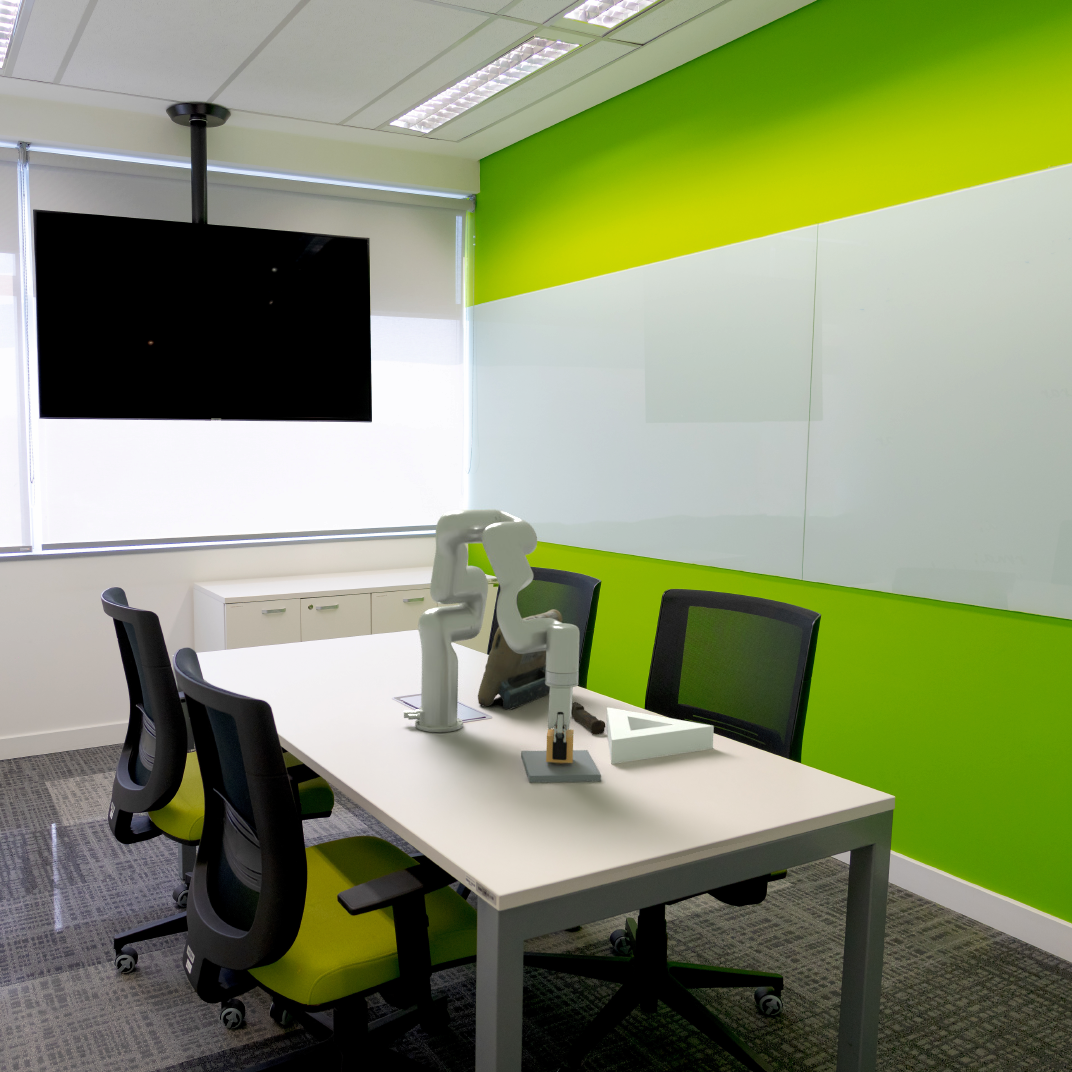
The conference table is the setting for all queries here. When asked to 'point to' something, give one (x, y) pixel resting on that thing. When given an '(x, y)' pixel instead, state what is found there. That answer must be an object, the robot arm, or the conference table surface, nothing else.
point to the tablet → (514, 672)
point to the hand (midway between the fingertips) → (559, 754)
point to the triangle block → (653, 736)
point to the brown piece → (587, 719)
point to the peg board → (560, 768)
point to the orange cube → (568, 739)
